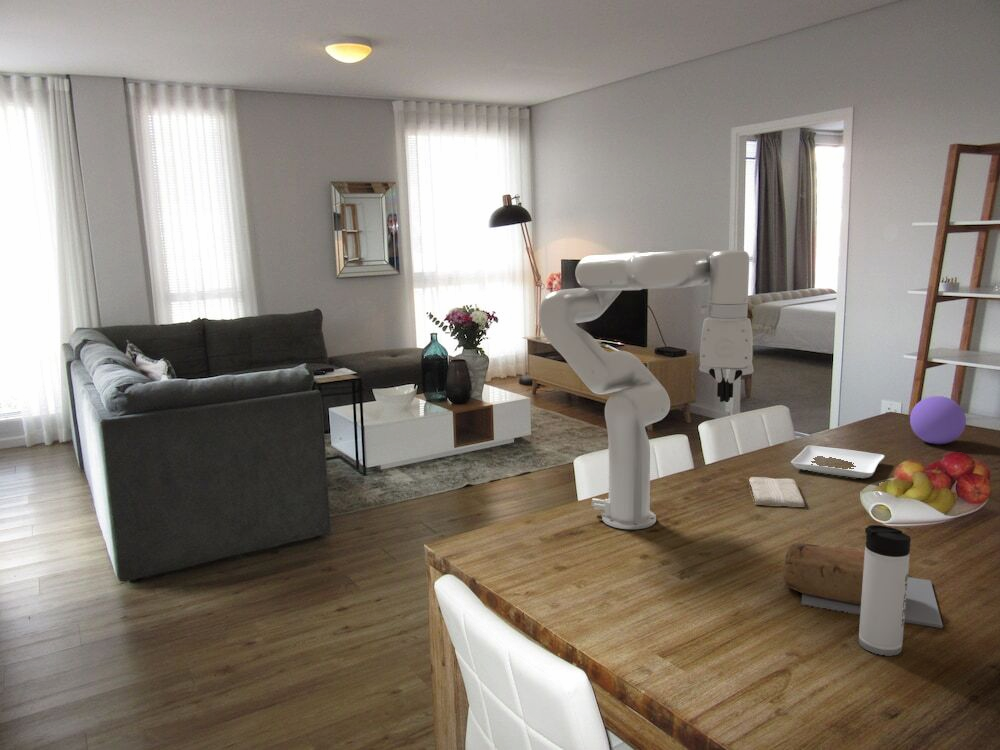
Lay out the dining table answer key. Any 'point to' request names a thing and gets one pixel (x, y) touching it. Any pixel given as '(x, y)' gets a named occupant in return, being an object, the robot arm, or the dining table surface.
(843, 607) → the mat
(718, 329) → the robot arm
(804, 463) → the salad plate
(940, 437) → the decorative ball
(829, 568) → the block
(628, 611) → the dining table surface
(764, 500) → the washcloth
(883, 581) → the travel mug
